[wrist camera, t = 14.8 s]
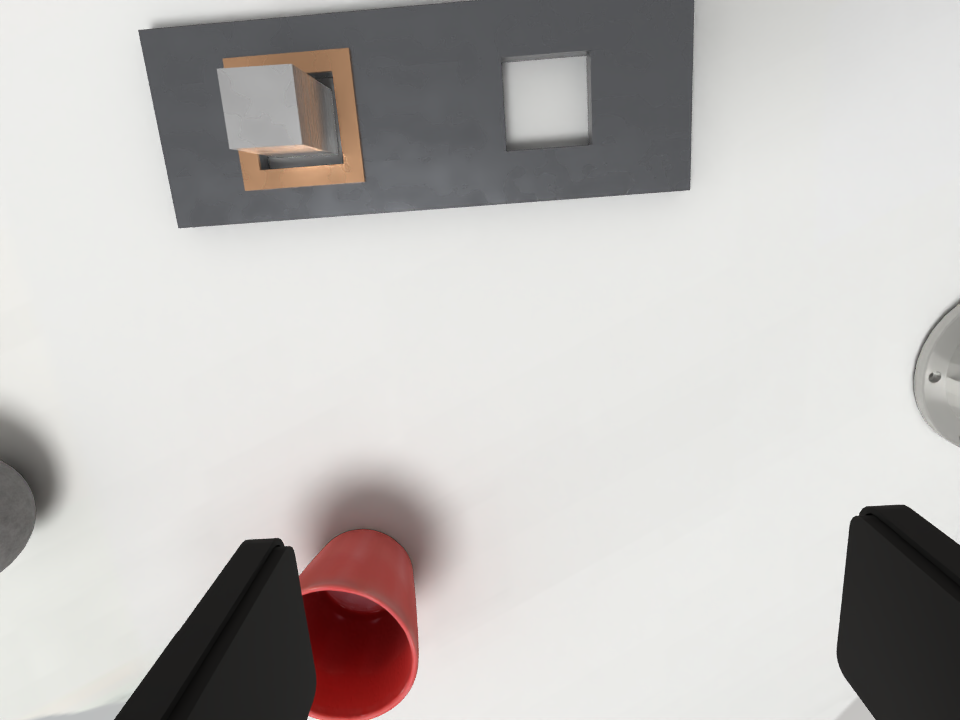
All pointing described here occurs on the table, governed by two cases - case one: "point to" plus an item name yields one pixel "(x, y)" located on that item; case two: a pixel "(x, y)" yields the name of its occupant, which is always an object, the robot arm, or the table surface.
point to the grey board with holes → (429, 107)
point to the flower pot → (361, 625)
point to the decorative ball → (14, 514)
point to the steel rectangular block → (277, 111)
